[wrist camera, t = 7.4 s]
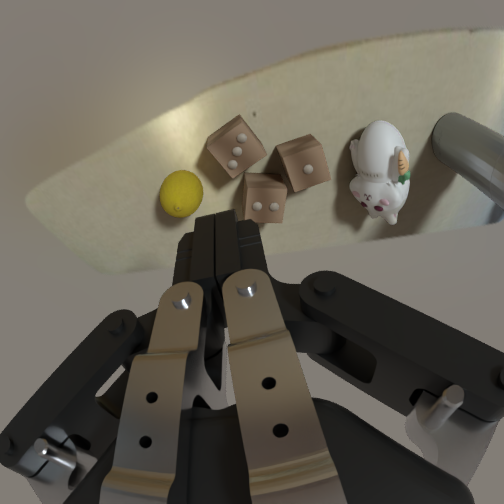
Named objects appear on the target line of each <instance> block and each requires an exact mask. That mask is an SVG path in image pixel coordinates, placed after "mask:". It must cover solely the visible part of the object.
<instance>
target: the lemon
mask: <svg viewBox="0 0 504 504" xmlns="http://www.w3.org/2000/svg"><path fill="white" fill-rule="evenodd" d="M202 198H203V186H202V184H201V181H200V180H199V178H198V177H197V176H196V175H195V174H194V173H192V172H189V171H185V170H179V171H175V172H173V173H171V174H170V175H169V176H168V177H166V178H165V180H164V181H163V183H162V185H161V189H160V202H161V205H162V207H163V209H164V210H165V211H166V212H167V213H168V214H169V215H171V216H174V217H178V218H182V217H187V216H190V215H191V214H193V213H194V212H195V211H196V210H197V209H198V207H199V206H200V204H201V202H202Z"/></svg>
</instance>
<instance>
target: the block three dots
mask: <svg viewBox="0 0 504 504" xmlns="http://www.w3.org/2000/svg"><path fill="white" fill-rule="evenodd" d="M207 149H208V150H209V151H210V152H211V154H212V155H213V156H214V157H215V158H216V159H217V161H218V162H219V163H220V164H221V165H222V166H223V168H224V169H225V170H226V171H227V172H228V174H229V175H230V176H231V177H232V178H234V177H236V176H237V175H239V174H240V173H241V172H243V171H244V170H246V169H247V168H249V167H250V166H252V165H253V164H255V163H256V162H257V161H259V160H260V159H262V158H263V157H265V156H266V155H267V154H266V152H265V149H264V147H263V145H262V143H261V142H260V140H259V139H258V138H257V136H256V135H255V134H254V133H253V131H252V130H251V129H250V127H249V126H248V125H247V123H246V122H245V121H244V120H243V118H242V117H241V116H240V115H238V116H236V117H235V118H233V119H232V120H231V121H229V122H228V123H226V124H225V125H224V126H222V127H221V128H220V129H218V130H217V131H215V132H214V133H213V134H211V135H210V136H209V137H208V141H207Z"/></svg>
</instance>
